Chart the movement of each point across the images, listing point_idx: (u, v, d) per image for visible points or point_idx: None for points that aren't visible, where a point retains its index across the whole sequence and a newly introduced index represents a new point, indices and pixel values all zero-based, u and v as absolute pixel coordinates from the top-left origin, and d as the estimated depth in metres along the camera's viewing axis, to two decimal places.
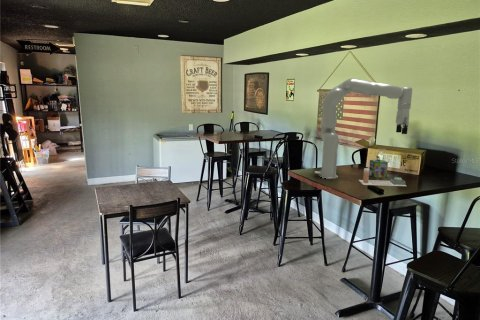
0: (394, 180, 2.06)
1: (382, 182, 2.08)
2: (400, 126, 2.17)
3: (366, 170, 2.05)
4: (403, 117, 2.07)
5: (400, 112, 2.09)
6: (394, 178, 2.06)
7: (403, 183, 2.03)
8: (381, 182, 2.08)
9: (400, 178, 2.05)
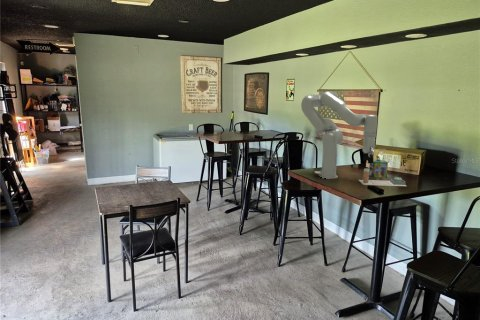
0: (394, 180, 2.06)
1: (382, 182, 2.08)
2: (367, 154, 2.09)
3: (366, 170, 2.05)
4: (368, 146, 1.99)
5: (366, 140, 2.01)
6: (394, 178, 2.06)
7: (403, 183, 2.03)
8: (381, 182, 2.08)
9: (400, 178, 2.05)
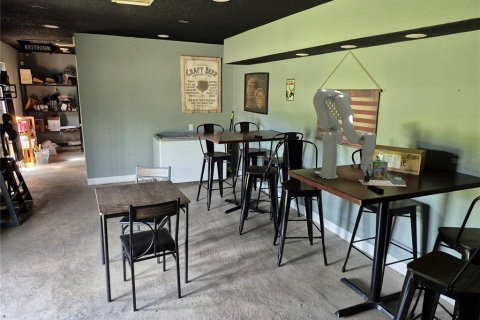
0: (394, 180, 2.06)
1: (382, 182, 2.08)
2: None
3: (366, 170, 2.05)
4: (366, 164, 2.01)
5: (364, 158, 2.03)
6: (394, 178, 2.06)
7: (403, 183, 2.03)
8: (381, 182, 2.08)
9: (400, 178, 2.05)
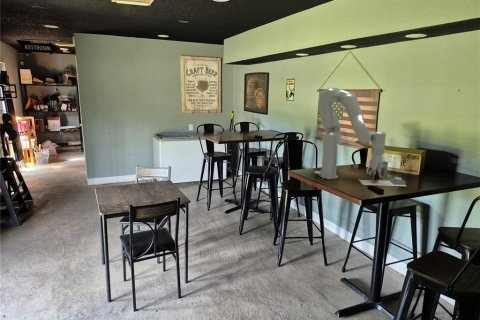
0: (394, 180, 2.06)
1: (382, 182, 2.08)
2: None
3: None
4: (376, 163, 2.02)
5: (373, 157, 2.05)
6: (394, 178, 2.06)
7: (403, 183, 2.03)
8: (381, 182, 2.08)
9: (400, 178, 2.05)
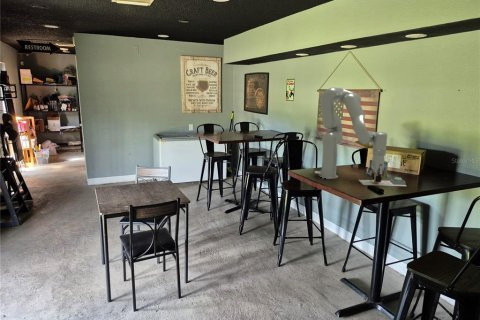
0: (394, 180, 2.06)
1: (382, 182, 2.08)
2: None
3: None
4: (378, 164, 1.99)
5: (375, 158, 2.01)
6: (394, 178, 2.06)
7: (403, 183, 2.03)
8: (381, 182, 2.08)
9: (400, 178, 2.05)
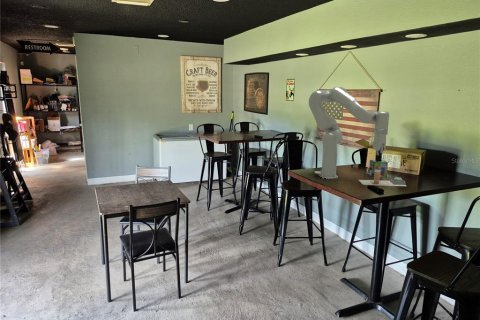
0: (394, 180, 2.06)
1: (382, 182, 2.08)
2: None
3: (377, 171, 2.03)
4: (379, 143, 1.96)
5: (377, 138, 1.98)
6: (394, 178, 2.06)
7: (403, 183, 2.03)
8: (381, 182, 2.08)
9: (400, 178, 2.05)
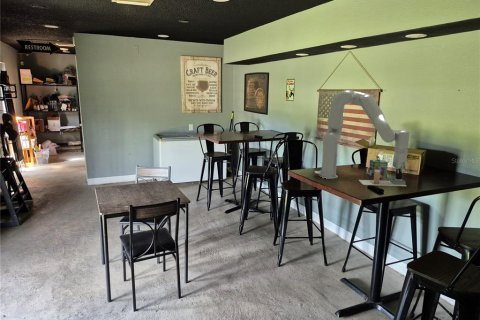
0: None
1: (382, 182, 2.08)
2: None
3: (377, 171, 2.03)
4: (400, 162, 1.99)
5: (397, 156, 2.01)
6: (394, 179, 2.06)
7: (403, 183, 2.03)
8: (381, 182, 2.08)
9: (400, 179, 2.05)
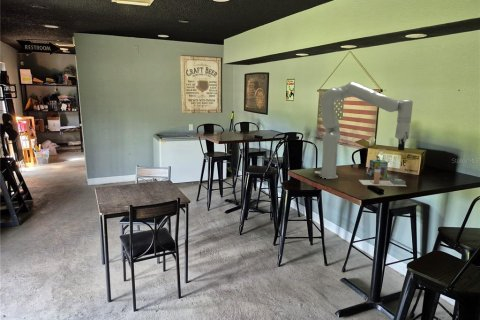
0: None
1: (382, 182, 2.08)
2: None
3: (377, 171, 2.03)
4: (403, 132, 1.95)
5: (400, 126, 1.97)
6: (394, 180, 2.06)
7: (403, 183, 2.03)
8: (381, 182, 2.08)
9: (400, 180, 2.05)
